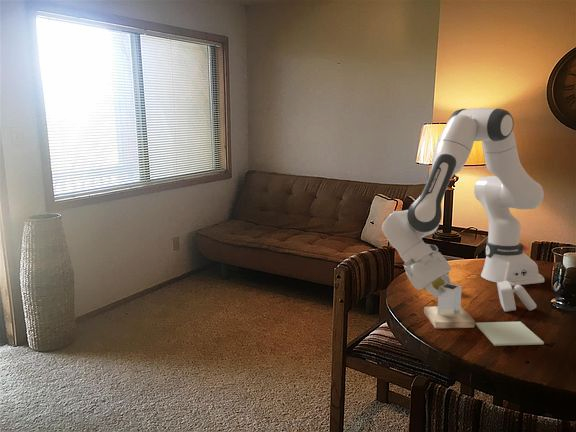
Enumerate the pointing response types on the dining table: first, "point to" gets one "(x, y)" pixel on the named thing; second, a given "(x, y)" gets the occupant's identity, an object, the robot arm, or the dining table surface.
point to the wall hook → (508, 297)
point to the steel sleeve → (449, 300)
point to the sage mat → (508, 333)
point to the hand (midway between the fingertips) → (445, 292)
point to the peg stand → (449, 319)
